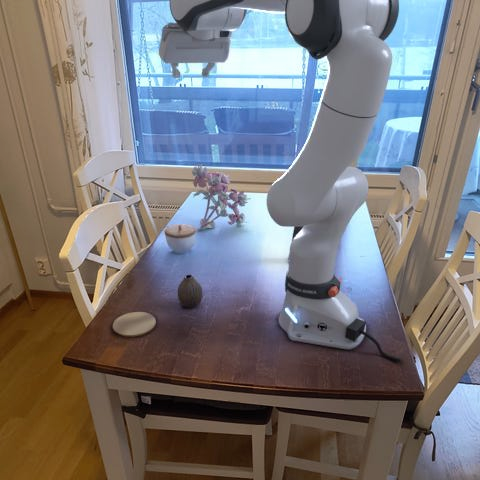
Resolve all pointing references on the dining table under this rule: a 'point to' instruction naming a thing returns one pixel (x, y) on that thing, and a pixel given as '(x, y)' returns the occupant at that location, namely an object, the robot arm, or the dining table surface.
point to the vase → (189, 292)
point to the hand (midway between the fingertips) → (190, 76)
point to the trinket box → (180, 237)
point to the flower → (219, 184)
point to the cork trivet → (134, 324)
